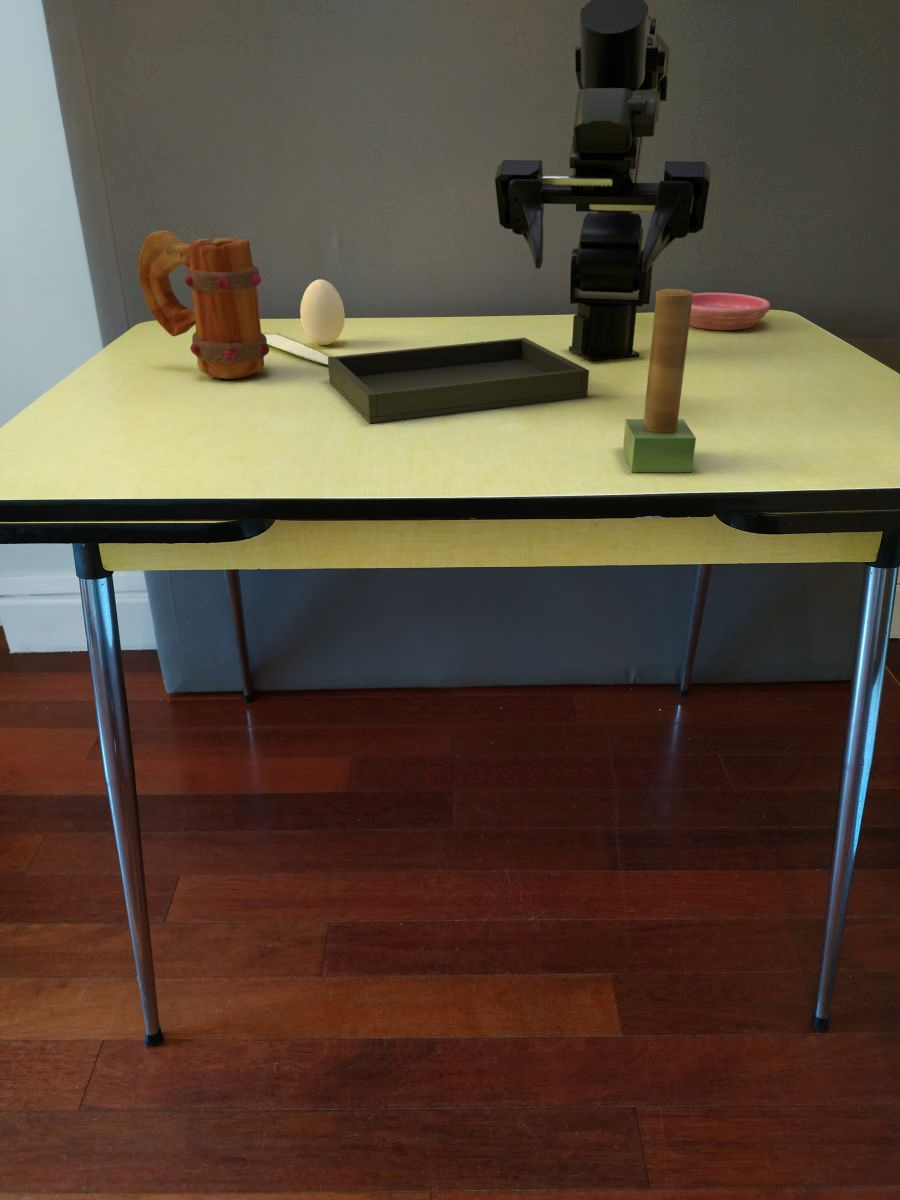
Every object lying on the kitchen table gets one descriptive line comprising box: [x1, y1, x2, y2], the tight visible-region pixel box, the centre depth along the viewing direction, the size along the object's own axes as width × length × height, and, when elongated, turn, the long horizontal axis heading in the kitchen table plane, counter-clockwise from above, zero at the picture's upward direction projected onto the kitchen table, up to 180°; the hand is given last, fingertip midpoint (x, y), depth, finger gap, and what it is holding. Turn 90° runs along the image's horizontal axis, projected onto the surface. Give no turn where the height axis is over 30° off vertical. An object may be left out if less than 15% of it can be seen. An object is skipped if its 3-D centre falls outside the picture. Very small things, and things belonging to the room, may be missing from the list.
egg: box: [299, 279, 346, 346], centre depth 113 cm, size 6×6×8 cm
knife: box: [261, 330, 329, 366], centre depth 116 cm, size 1×34×5 cm
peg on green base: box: [622, 288, 697, 473], centre depth 74 cm, size 5×5×14 cm
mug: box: [137, 229, 270, 380], centre depth 100 cm, size 15×8×15 cm, turn 71°
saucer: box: [689, 292, 771, 331], centre depth 124 cm, size 12×12×3 cm
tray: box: [327, 337, 590, 424], centre depth 97 cm, size 24×16×3 cm, turn 111°
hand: (590, 266), depth 79 cm, fingers open, 9 cm apart
